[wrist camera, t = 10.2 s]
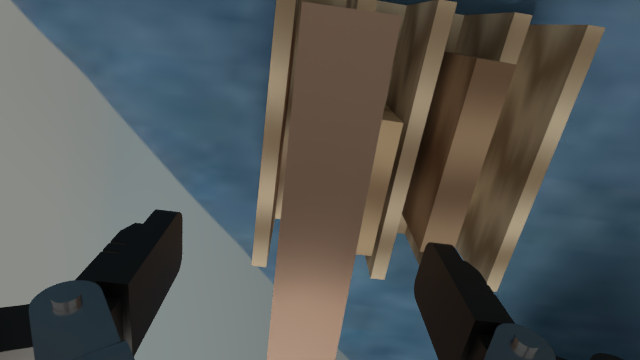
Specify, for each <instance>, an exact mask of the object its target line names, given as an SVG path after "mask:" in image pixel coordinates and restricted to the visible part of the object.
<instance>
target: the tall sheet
mask: <svg viewBox="0 0 640 360" xmlns="http://www.w3.org/2000/svg"><path fill="white" fill-rule="evenodd" d="M401 19H402V16H400V15H393V14H386V13H379V12H372V11H364V10H357V9H350V8H343V7H336V6H329V5H322V4H315V3H308V2H302V6H301V16H300V26H299V36H298V47H297V57H296V67H295V77H294V87H293V98H292V108H291V118H290V128H289V138H288V149H287V159H286V169H285V179H284V189H283V200H282V210H281V220H280V230H279V240H278V251H277V261H276V271H275V281H274V293H273V302H272V312H271V322H270V333H269V343H268V353H267V360H335V358H336V353H337V348H338V343H339V338H340V333H341V328H342V322H343V317H344V312H345V307H346V302H347V297H348V292H349V286H350V281H351V276H352V271H353V266H354V261H355V256H356V250H357V245H358V240H359V235H360V230H361V225H362V220H363V215H364V209H365V204H366V199H367V194H368V189H369V184H370V179H371V173H372V168H373V163H374V158H375V153H376V148H377V143H378V137H379V132H380V127H381V122H382V117H383V112H384V107H385V101H386V96H387V91H388V86H389V81H390V76H391V71H392V66H393V60H394V55H395V50H396V45H397V40H398V35H399V30H400V24H401Z"/></svg>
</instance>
